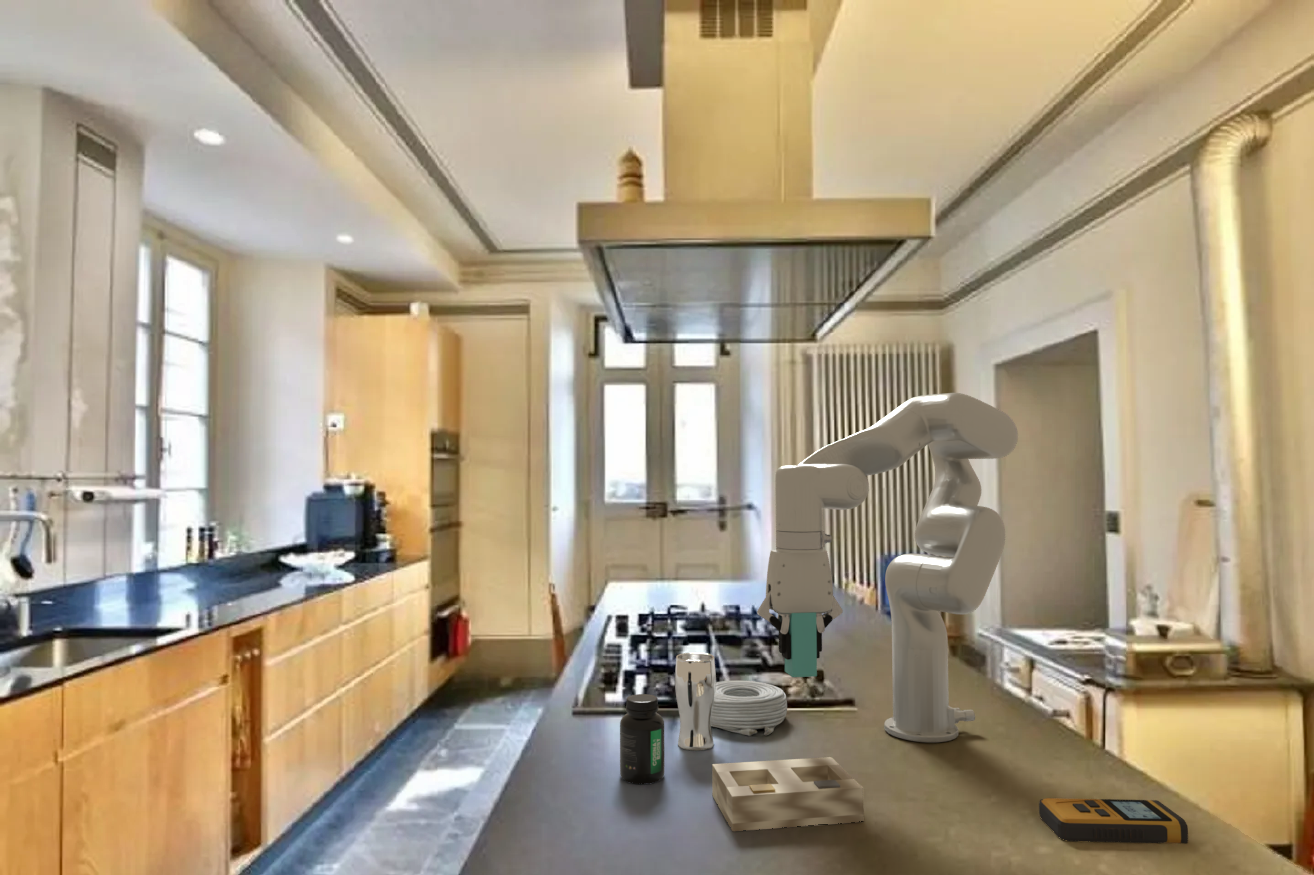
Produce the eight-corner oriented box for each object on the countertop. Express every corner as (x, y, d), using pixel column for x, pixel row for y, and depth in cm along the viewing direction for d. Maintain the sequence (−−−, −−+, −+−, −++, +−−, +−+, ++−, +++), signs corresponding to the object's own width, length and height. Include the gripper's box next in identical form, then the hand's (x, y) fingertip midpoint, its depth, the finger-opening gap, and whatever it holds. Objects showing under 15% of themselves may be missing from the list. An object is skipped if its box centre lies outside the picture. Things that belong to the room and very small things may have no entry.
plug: (808, 670, 135) (807, 604, 136) (816, 676, 131) (816, 608, 132) (784, 671, 135) (784, 605, 135) (792, 677, 131) (791, 609, 131)
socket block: (831, 787, 123) (831, 754, 123) (863, 821, 111) (863, 785, 112) (712, 795, 120) (712, 762, 121) (732, 831, 109) (732, 794, 109)
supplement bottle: (668, 783, 125) (667, 703, 126) (622, 786, 124) (622, 705, 125) (660, 767, 132) (660, 691, 132) (617, 770, 131) (617, 693, 131)
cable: (768, 741, 145) (767, 706, 145) (678, 727, 153) (678, 693, 154) (799, 714, 161) (799, 683, 161) (716, 703, 169) (716, 672, 169)
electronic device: (1036, 819, 113) (1035, 794, 114) (1155, 820, 113) (1153, 795, 113) (1062, 846, 105) (1061, 819, 105) (1191, 848, 104) (1189, 820, 104)
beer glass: (713, 753, 138) (712, 662, 139) (672, 750, 140) (671, 660, 140) (718, 739, 145) (718, 652, 146) (679, 737, 147) (678, 651, 147)
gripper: (840, 539, 139) (841, 650, 138) (742, 540, 136) (743, 653, 136) (858, 543, 131) (859, 660, 131) (754, 545, 129) (755, 664, 128)
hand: (800, 655), depth 133 cm, fingers closed on plug, 4 cm apart
